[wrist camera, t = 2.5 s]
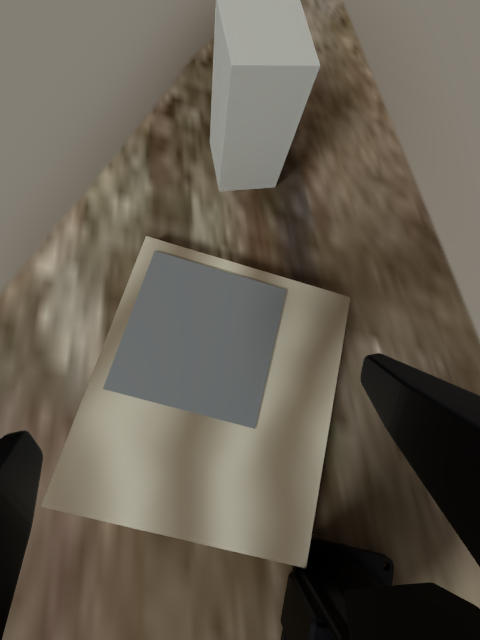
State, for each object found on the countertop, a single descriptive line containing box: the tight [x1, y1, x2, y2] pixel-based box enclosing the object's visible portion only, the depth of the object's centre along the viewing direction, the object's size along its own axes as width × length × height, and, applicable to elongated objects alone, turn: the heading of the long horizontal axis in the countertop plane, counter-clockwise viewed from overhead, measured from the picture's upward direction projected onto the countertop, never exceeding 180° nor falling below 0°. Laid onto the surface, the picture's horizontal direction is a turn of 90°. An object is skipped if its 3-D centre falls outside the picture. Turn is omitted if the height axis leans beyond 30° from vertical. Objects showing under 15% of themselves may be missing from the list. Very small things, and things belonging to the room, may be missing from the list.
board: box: [41, 236, 350, 568], centre depth 20 cm, size 16×18×2 cm
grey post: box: [210, 0, 320, 191], centre depth 21 cm, size 5×5×10 cm
